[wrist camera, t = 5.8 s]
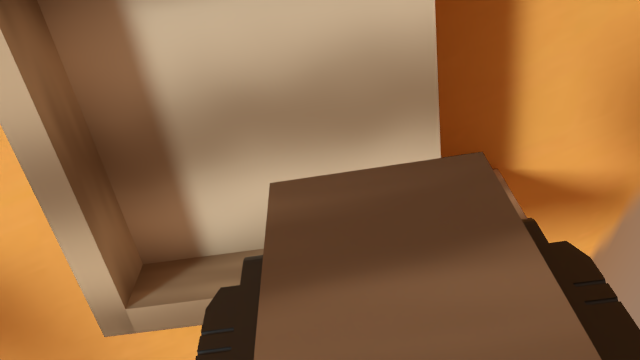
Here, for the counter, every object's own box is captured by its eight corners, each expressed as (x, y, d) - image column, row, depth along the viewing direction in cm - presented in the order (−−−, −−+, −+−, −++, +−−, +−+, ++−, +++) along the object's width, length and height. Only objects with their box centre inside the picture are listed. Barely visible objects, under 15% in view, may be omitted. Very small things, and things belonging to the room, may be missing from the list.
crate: (23, -74, 19) (-82, -44, 14) (504, -155, 18) (585, -155, 13) (144, 238, 26) (104, 336, 21) (497, 191, 25) (547, 282, 20)
